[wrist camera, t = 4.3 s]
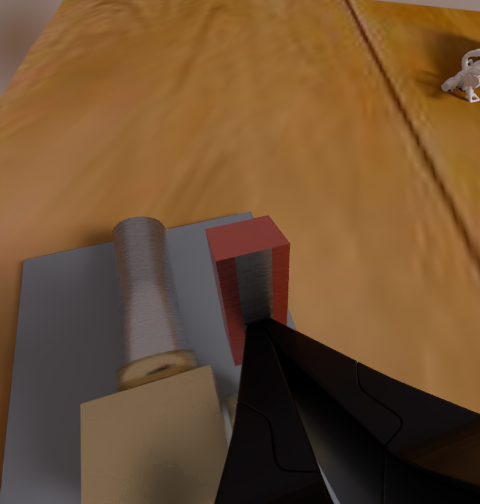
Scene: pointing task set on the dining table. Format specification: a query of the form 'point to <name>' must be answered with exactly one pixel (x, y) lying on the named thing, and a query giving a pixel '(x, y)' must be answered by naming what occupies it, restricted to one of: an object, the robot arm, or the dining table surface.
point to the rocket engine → (466, 77)
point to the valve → (152, 392)
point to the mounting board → (94, 355)
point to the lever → (248, 280)
